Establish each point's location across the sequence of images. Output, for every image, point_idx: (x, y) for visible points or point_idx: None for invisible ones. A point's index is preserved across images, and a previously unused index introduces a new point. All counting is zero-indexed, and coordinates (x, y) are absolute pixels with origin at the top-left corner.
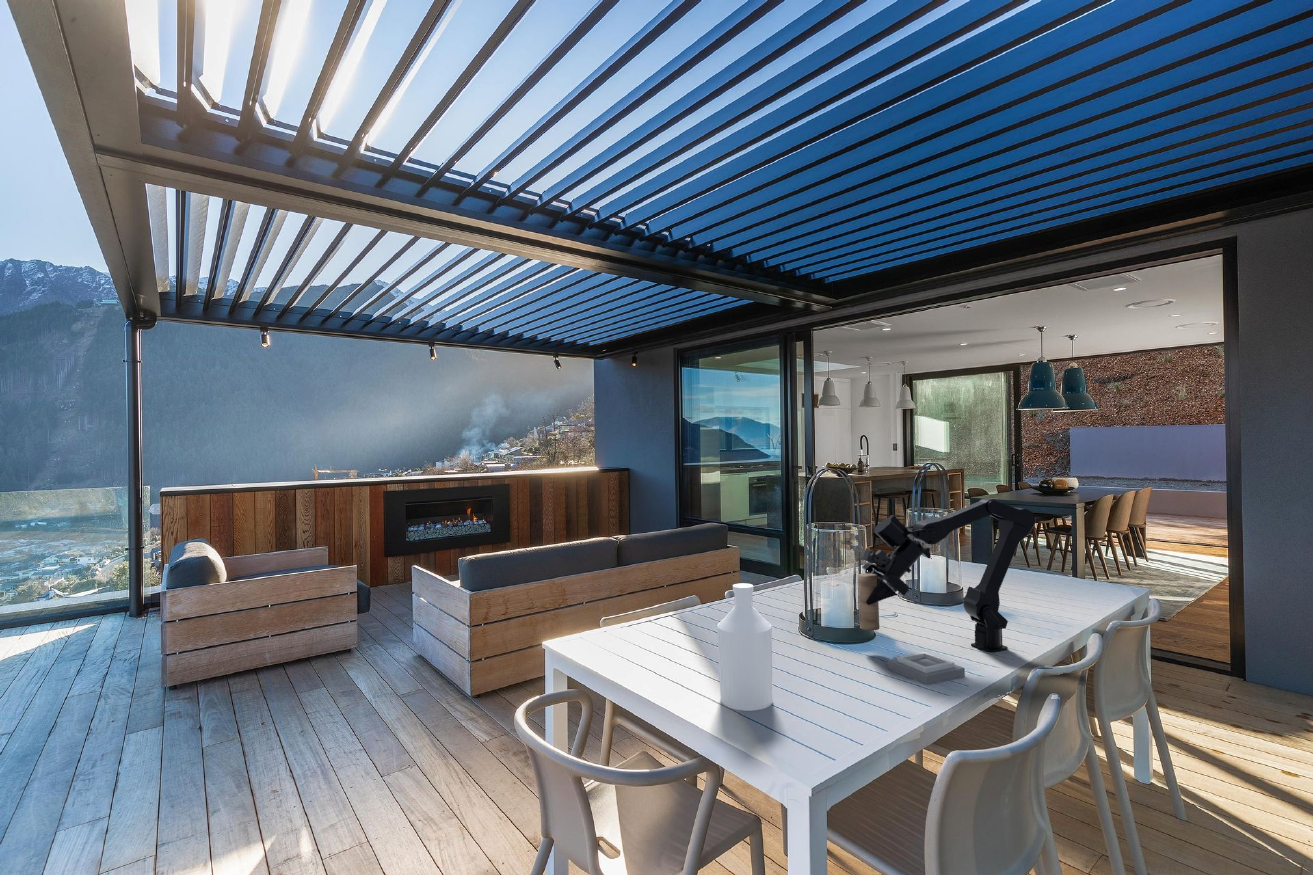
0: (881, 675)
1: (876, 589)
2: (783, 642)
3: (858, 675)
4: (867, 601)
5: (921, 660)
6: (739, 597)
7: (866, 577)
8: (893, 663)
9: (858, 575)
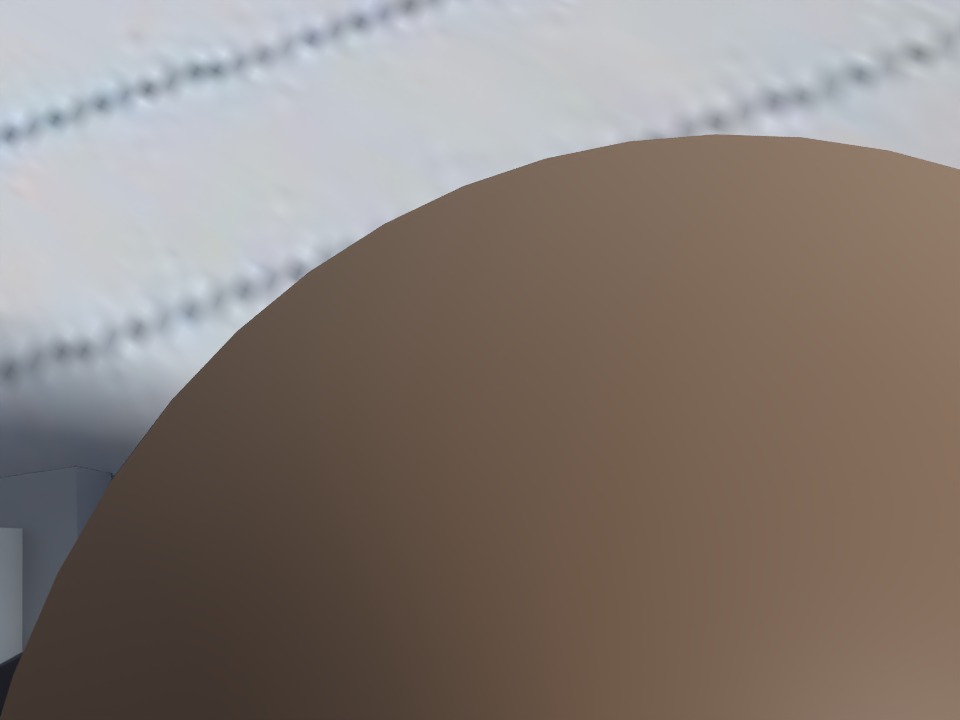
0: (18, 339)
1: (15, 665)
2: (914, 44)
3: (91, 193)
4: None
5: None
6: None
7: (211, 376)
8: (15, 477)
9: (926, 186)
